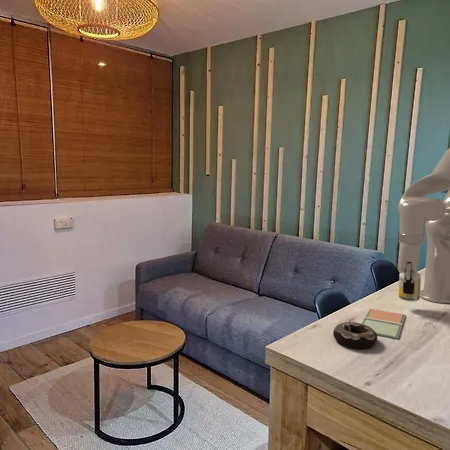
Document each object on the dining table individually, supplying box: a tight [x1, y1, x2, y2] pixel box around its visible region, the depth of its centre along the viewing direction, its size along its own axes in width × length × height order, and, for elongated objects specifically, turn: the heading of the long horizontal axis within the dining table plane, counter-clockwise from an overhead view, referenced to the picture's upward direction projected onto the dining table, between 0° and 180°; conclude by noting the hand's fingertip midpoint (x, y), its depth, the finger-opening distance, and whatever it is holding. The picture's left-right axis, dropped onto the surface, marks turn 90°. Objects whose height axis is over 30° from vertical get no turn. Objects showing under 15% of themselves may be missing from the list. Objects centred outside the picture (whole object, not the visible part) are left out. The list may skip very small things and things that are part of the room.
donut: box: [332, 321, 378, 350], centre depth 109 cm, size 12×12×4 cm
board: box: [361, 308, 406, 340], centre depth 122 cm, size 20×11×1 cm, turn 150°
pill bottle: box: [398, 264, 422, 303], centre depth 131 cm, size 6×6×12 cm
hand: (409, 289), depth 132 cm, fingers closed on pill bottle, 6 cm apart
